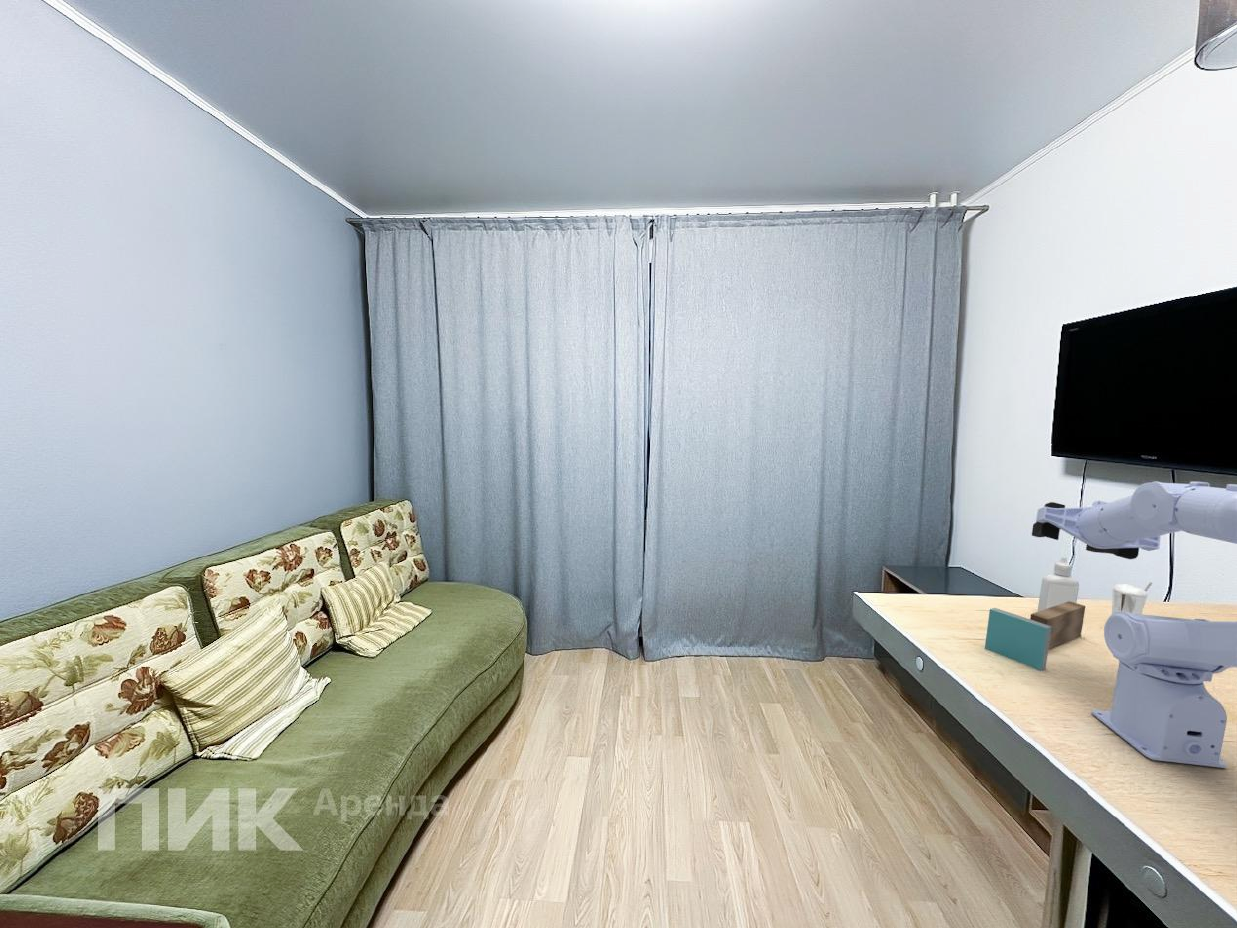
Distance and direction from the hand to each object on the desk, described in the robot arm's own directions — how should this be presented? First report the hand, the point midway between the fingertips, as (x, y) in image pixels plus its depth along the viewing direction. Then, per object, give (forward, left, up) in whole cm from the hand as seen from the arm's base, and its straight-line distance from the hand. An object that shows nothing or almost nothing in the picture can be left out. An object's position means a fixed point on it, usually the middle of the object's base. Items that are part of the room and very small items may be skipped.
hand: (1061, 537), depth 85 cm
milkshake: (+12, -21, -20) cm, 31 cm away
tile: (-3, +6, -20) cm, 21 cm away
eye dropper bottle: (+18, -13, -20) cm, 30 cm away
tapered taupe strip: (+5, -5, -20) cm, 21 cm away
